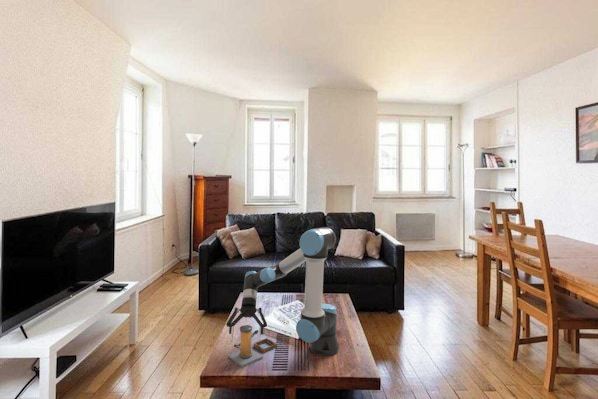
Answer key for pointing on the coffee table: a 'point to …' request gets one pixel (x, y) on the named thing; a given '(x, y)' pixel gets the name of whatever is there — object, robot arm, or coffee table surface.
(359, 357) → the coffee table surface
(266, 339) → the square wooden frame
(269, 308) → the coffee table surface
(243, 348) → the orange grey capped cylinder
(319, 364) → the coffee table surface
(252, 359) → the rubber mat
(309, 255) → the robot arm
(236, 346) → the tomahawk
